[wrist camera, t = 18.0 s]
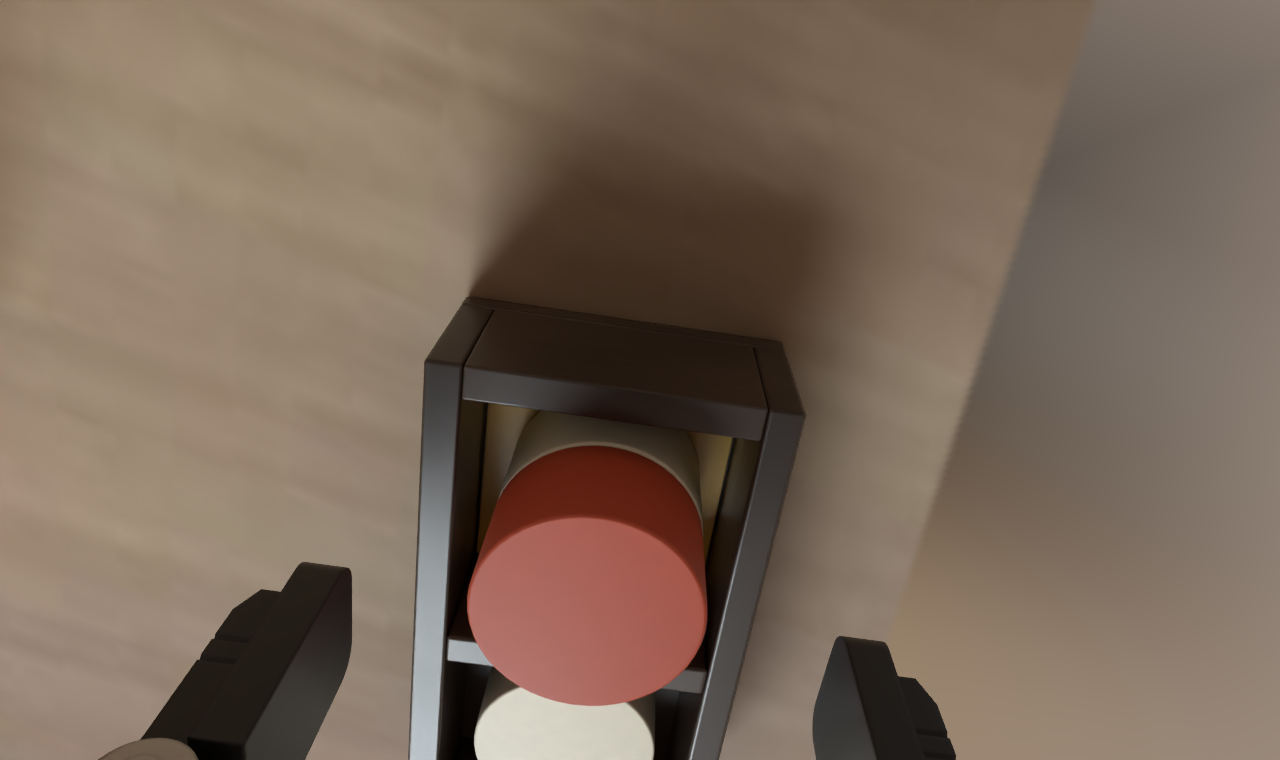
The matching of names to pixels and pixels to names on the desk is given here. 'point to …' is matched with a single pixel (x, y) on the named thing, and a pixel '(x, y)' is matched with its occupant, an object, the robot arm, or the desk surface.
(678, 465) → the ivory token
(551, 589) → the cylinder
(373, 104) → the desk surface
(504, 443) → the two-slot token holder
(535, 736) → the cylinder
